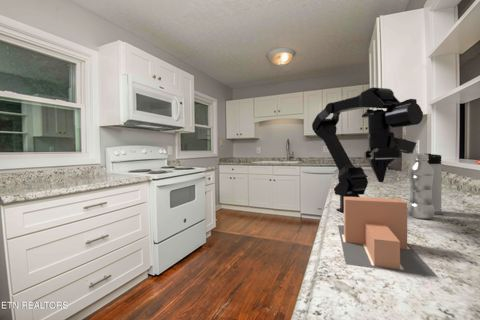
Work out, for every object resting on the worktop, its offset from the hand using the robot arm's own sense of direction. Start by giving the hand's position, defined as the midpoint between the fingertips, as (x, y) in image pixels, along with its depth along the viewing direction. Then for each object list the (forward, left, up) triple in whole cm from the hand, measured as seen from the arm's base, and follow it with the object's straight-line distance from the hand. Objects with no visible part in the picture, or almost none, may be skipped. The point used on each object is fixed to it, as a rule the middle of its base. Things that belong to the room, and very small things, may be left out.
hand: (380, 182), depth 67 cm
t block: (+18, -16, -12) cm, 27 cm away
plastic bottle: (0, +14, -12) cm, 19 cm away
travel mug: (-5, +23, -12) cm, 27 cm away
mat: (+14, -14, -12) cm, 24 cm away
